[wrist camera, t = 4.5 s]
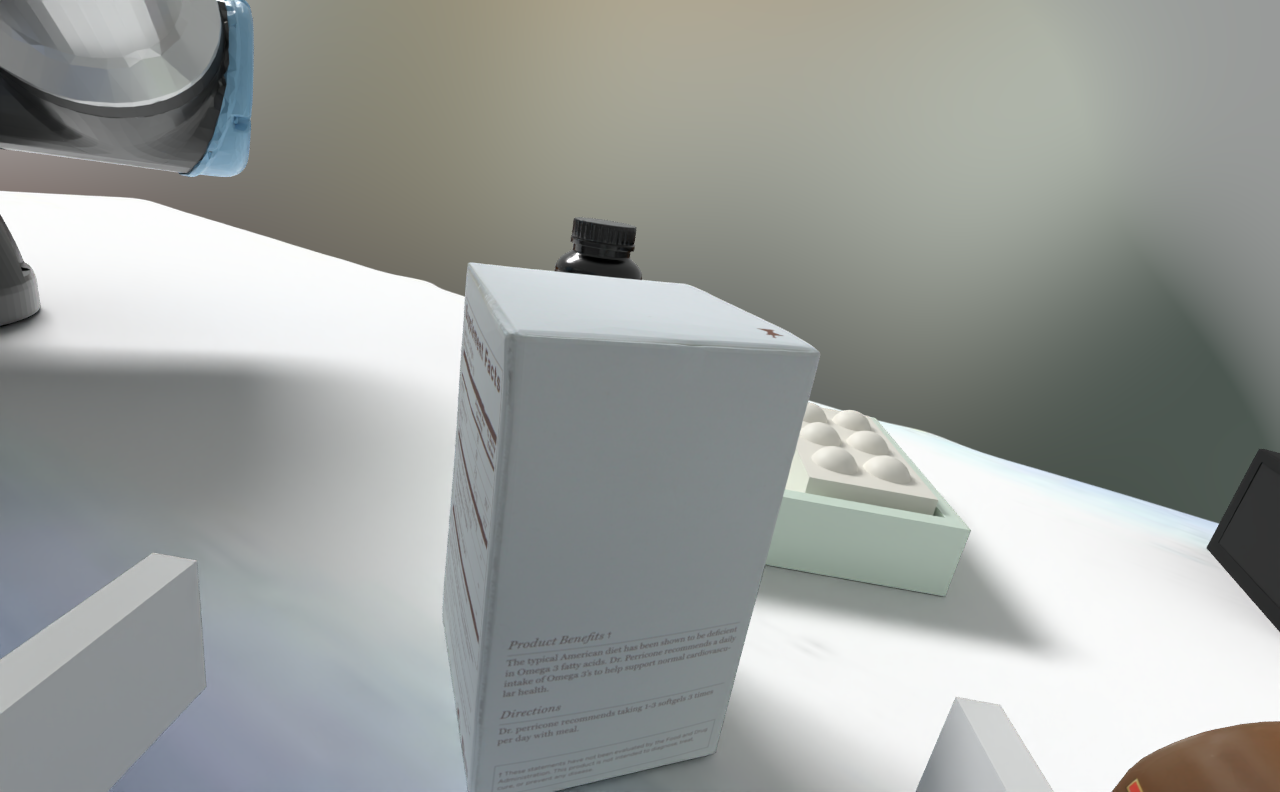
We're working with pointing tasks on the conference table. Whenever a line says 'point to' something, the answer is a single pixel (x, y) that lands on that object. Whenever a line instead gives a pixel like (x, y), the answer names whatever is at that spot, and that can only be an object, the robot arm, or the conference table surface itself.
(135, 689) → the robot arm
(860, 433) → the egg carton
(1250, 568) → the digital camera
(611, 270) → the supplement bottle
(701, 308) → the supplement box
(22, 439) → the conference table surface
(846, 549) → the pale green tray
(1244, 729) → the tin
